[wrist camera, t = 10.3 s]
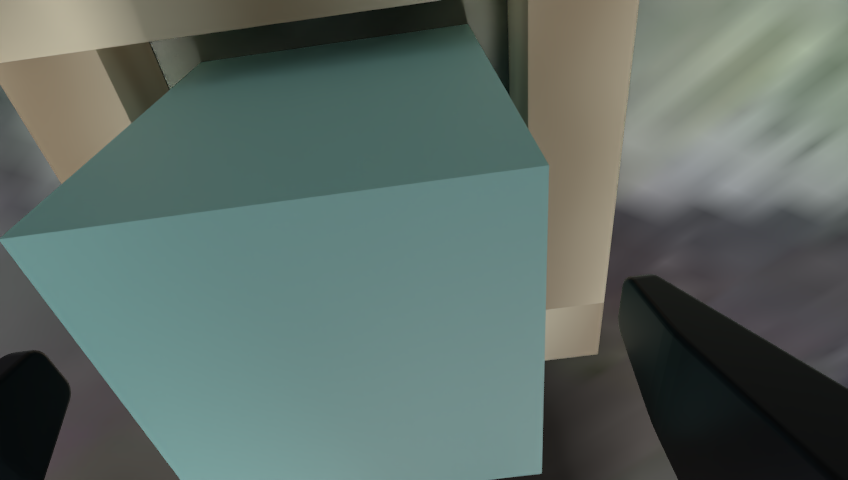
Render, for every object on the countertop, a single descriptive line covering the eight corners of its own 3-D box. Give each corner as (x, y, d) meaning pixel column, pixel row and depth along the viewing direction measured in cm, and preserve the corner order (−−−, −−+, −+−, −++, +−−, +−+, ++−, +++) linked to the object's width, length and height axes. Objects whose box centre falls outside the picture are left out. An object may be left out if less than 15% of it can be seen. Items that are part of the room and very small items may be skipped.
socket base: (612, -164, 9) (675, -182, 7) (574, 335, 17) (600, 396, 15) (-73, -61, 10) (-201, -49, 7) (192, 381, 17) (164, 448, 15)
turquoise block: (467, 23, 11) (549, 165, 5) (482, 242, 14) (542, 474, 9) (201, 61, 11) (-2, 239, 5) (279, 269, 15) (205, 513, 9)
